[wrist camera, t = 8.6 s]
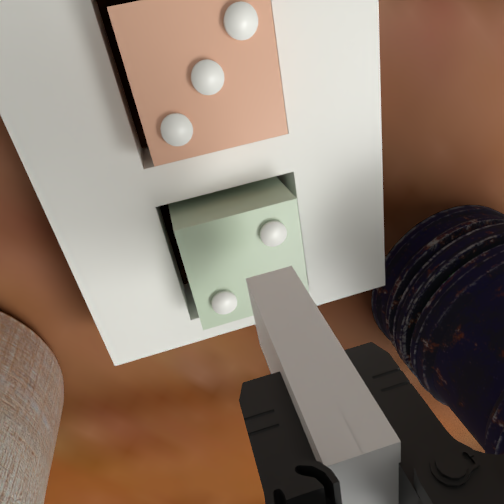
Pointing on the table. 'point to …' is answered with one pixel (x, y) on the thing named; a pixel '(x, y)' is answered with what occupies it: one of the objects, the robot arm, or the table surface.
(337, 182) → the button panel
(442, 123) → the table surface
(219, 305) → the button two dots
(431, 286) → the navy blue cylinder
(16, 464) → the planter
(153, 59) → the button three dots
